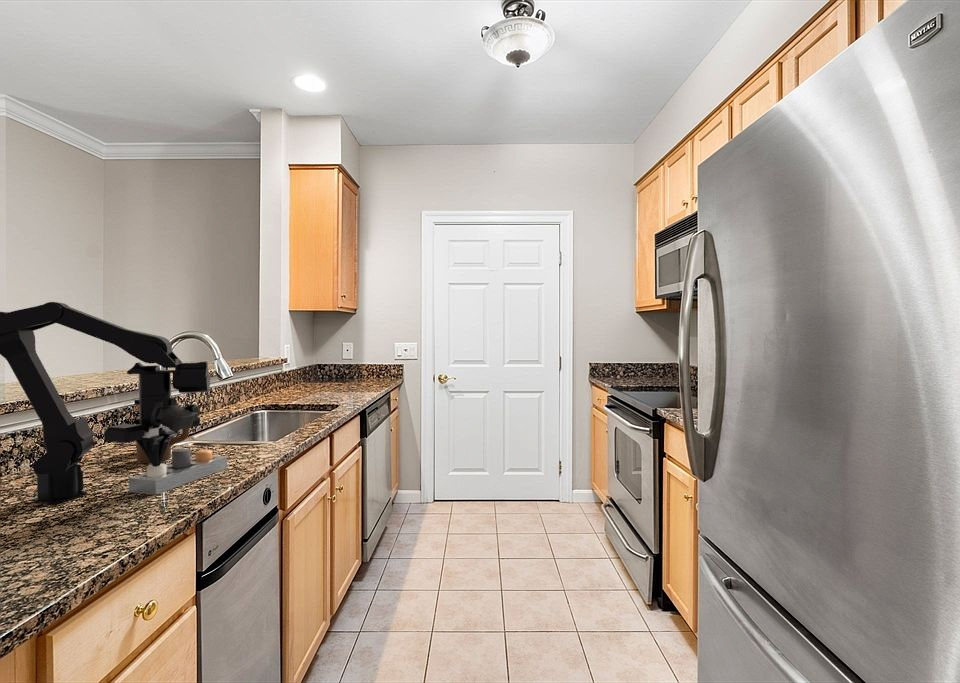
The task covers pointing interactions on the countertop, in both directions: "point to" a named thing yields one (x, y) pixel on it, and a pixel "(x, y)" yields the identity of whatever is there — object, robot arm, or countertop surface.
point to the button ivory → (156, 471)
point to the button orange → (203, 455)
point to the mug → (144, 459)
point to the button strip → (176, 476)
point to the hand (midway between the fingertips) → (156, 466)
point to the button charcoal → (181, 459)
